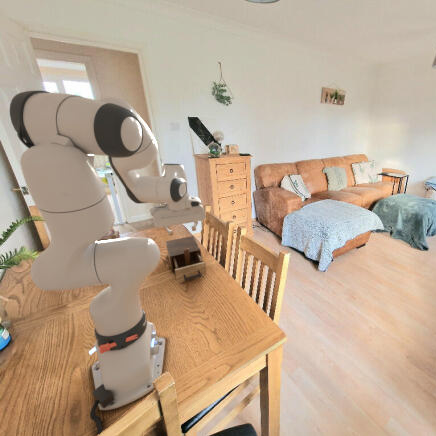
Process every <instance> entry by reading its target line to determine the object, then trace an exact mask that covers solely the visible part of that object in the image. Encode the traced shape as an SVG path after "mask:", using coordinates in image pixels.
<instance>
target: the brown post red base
mask: <svg viewBox="0 0 436 436" xmlns="http://www.w3.org/2000/svg"><path fill="white" fill-rule="evenodd" d="M184 256H185V263H186V266H189V265H191V261H190V254H189V248H184Z"/></svg>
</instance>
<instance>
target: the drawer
mask: <svg viewBox="0 0 436 436" xmlns="http://www.w3.org/2000/svg"><path fill="white" fill-rule="evenodd" d="M201 259H202V257H201V258H200V256H199V254H198V252H194V253H190V261H191V265H189V266H186V263H185V256H184V255H181V256H177V257H173V263H174V267H175V272H174V273H175V279H176V284H181V283H185V282H188V281H191V280H195V279H198V278H202V277H205V276H207V268H206V267H207V266H206V262H205V261H203V260H201Z"/></svg>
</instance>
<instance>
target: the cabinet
mask: <svg viewBox="0 0 436 436" xmlns="http://www.w3.org/2000/svg"><path fill="white" fill-rule="evenodd" d="M165 247H166V254H167V258H168V261H169V265H170V269H171V272H172V273H175V267H174V263H173V257H177V256H181V255H184V248H189V254H190V253H194V252H198V254H199V256H200V258H201V260H202V251H201V248H200V246H199V244H198V242H197V239H196V238H195V237H194V235H191V236H186V237H181V238H176V239H171V240H170V239H169V240H166V241H165ZM202 261H203V260H202Z"/></svg>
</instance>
